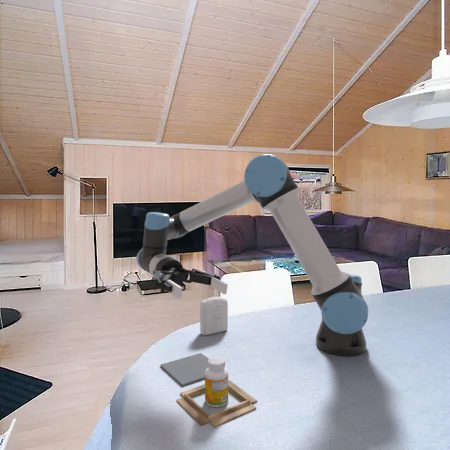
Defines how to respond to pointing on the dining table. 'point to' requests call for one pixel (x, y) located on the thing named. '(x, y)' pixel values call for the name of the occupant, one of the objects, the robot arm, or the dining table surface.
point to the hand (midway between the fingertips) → (204, 291)
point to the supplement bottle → (216, 382)
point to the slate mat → (187, 369)
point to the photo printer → (213, 315)
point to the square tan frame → (218, 417)
